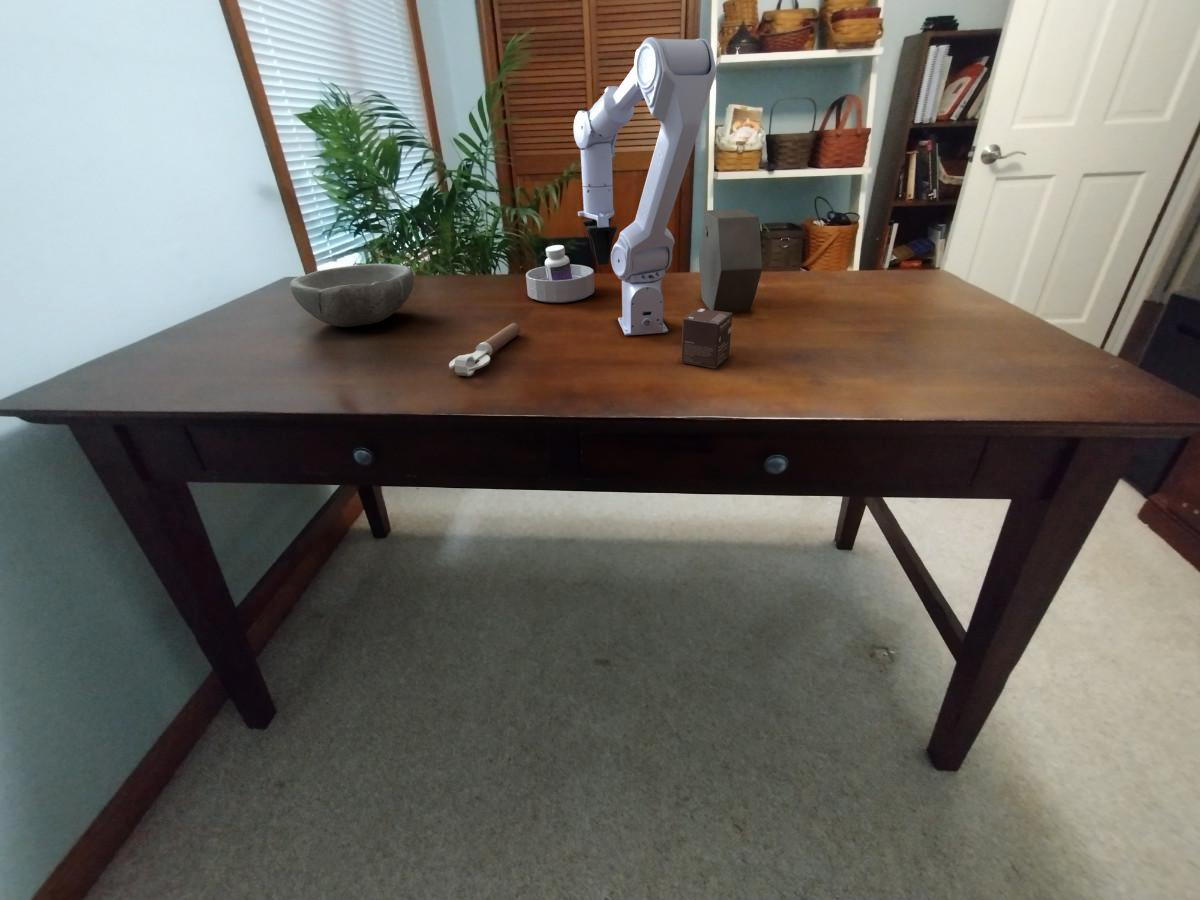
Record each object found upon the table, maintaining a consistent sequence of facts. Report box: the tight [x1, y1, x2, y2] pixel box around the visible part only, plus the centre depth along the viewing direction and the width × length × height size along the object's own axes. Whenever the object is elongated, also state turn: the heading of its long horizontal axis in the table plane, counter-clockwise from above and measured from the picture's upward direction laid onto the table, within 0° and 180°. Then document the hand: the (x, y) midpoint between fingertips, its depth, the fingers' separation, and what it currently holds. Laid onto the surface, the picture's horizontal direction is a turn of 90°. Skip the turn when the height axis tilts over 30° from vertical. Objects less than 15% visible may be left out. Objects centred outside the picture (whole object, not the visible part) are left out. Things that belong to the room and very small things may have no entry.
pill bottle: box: [544, 244, 572, 281], centre depth 119 cm, size 5×5×10 cm
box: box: [680, 308, 734, 369], centre depth 85 cm, size 6×6×7 cm
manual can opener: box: [448, 322, 521, 377], centre depth 92 cm, size 21×6×3 cm, turn 167°
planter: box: [698, 208, 763, 313], centre depth 108 cm, size 17×8×21 cm
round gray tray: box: [525, 263, 595, 304], centre depth 122 cm, size 15×15×5 cm
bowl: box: [289, 263, 415, 328], centre depth 109 cm, size 23×22×10 cm
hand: (600, 260), depth 110 cm, fingers open, 7 cm apart
